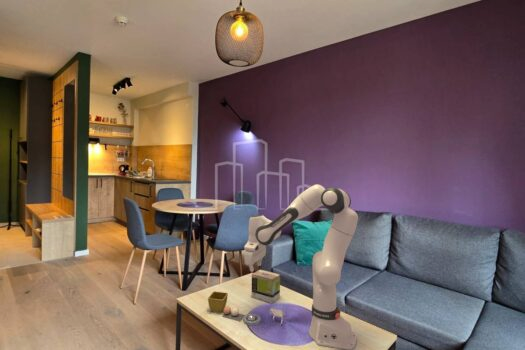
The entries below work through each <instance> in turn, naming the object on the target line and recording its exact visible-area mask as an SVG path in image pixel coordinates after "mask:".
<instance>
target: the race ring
mask: <svg viewBox="0 0 525 350" xmlns="http://www.w3.org/2000/svg"><path fill="white" fill-rule="evenodd" d="M244 315H245V316H244V317H243V319H242V321H243V323H244V325H246V326H250V327H251V326H252V327H253V326H257V325H259V324H260V323H261V321H262V320H261V317H260V315H259V314H255V313H248V314H244ZM249 315H254V317H255V321H252V322H251V321H248V320H247V318H248V316H249Z"/></svg>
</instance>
